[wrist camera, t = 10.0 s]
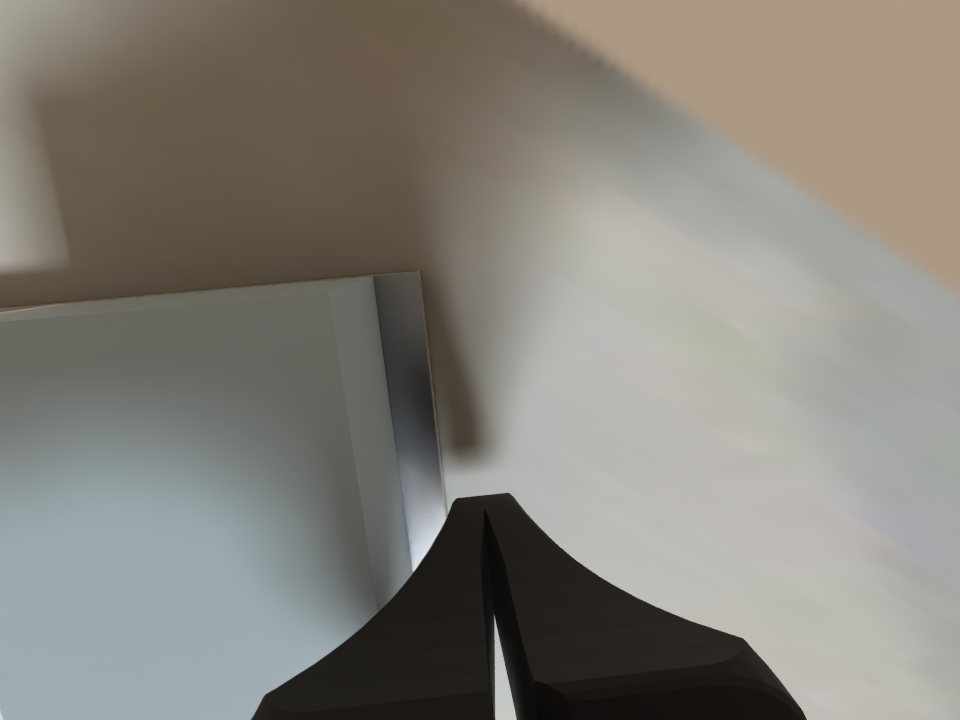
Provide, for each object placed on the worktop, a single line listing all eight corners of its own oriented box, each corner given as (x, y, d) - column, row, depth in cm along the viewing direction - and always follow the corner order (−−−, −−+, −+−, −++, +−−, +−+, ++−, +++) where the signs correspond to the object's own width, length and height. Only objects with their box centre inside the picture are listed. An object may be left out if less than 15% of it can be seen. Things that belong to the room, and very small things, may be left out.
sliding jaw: (414, 588, 13) (397, 737, 9) (139, 618, 13) (-3, 785, 9) (372, 276, 11) (328, 292, 7) (50, 305, 11) (-180, 338, 7)
